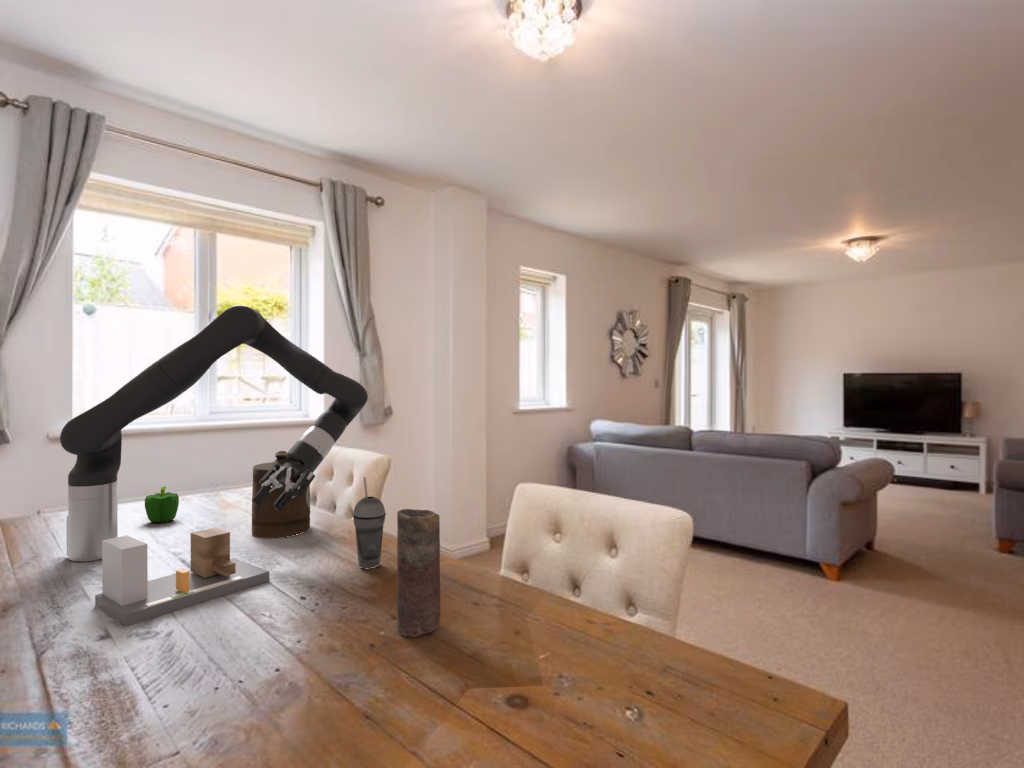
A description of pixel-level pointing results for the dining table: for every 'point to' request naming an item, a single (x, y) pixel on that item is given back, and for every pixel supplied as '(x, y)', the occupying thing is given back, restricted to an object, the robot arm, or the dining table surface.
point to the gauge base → (158, 583)
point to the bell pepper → (161, 506)
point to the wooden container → (271, 520)
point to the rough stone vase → (418, 572)
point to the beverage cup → (369, 529)
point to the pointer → (182, 580)
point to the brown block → (211, 553)
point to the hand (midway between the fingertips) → (265, 505)
